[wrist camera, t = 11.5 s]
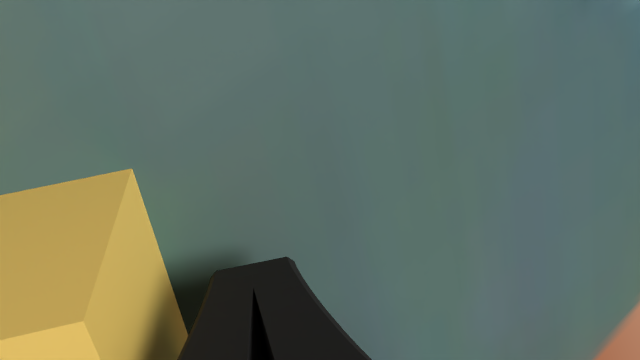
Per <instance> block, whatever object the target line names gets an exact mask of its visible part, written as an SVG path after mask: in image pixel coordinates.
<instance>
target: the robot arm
mask: <svg viewBox="0 0 640 360" xmlns="http://www.w3.org/2000/svg"><path fill="white" fill-rule="evenodd" d="M177 360H372V359H371V358H370V357H369V356H368V355H367V354H366V353H365V352H364V351H363V350H362V349H361V348H360V347H359V346H358V345H357V344H356V343H355V342H354V341H353V340H352V339H351V338H350V337H349V336H348V334H347V333H346V332H345V331H344V330H343V329H342V328H341V326H340V325H339V324H338V323H337V322H336V321H335V319H334V318H333V317H332V316H331V315H330V314H329V312H328V311H327V310H326V309H325V308H324V306H323V305H322V304H321V303H320V301H319V300H318V299H317V297H316V296H315V295H314V293H313V292H312V290H311V289H310V288H309V286H308V285H307V283H306V282H305V280H304V279H303V277H302V275H301V274H300V272H299V270H298V268H297V267H296V265H295V262H294V261H293V260H291V259H290V258H288V257H283V258H278V259H273V260H268V261H263V262H258V263H253V264H248V265H243V266H238V267H234V268H229V269H224V270H219V271H216V272H215V273H214V275H213V276H212V277H211V279H210V282H209V286H208V289H207V291H206V294H205V297H204V300H203V302H202V305H201V308H200V310H199V312H198V315H197V317H196V320H195V322H194V324H193V327H192V329H191V331H190V333H189V335H188V337H187V340H186V342H185V344H184V346H183V348H182V350H181V352H180V355H179V357H178V359H177Z"/></svg>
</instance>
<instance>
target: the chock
mask: <svg viewBox="0 0 640 360" xmlns="http://www.w3.org/2000/svg"><path fill="white" fill-rule="evenodd" d="M187 337H188V334H187V331H186V328H185V325H184V322H183V319H182V316H181V313H180V310H179V307H178V304H177V301H176V298H175V295H174V292H173V289H172V286H171V283H170V280H169V277H168V274H167V271H166V268H165V265H164V262H163V259H162V256H161V253H160V250H159V247H158V244H157V241H156V238H155V235H154V232H153V229H152V227H151V224H150V221H149V218H148V215H147V212H146V209H145V206H144V203H143V200H142V197H141V194H140V191H139V188H138V185H137V182H136V179H135V176H134V173H133V170H132V169H127V170H122V171H117V172H113V173H108V174H103V175H98V176H93V177H88V178H83V179H78V180H73V181H69V182H64V183H59V184H54V185H49V186H44V187H39V188H34V189H29V190H24V191H20V192H15V193H10V194H5V195H0V360H177V359H178V357H179V355H180V352H181V350H182V348H183V346H184V344H185V342H186V340H187Z"/></svg>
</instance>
